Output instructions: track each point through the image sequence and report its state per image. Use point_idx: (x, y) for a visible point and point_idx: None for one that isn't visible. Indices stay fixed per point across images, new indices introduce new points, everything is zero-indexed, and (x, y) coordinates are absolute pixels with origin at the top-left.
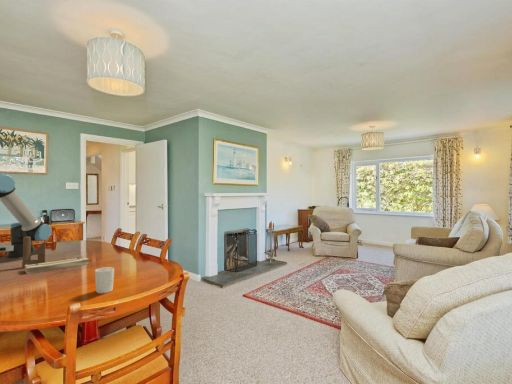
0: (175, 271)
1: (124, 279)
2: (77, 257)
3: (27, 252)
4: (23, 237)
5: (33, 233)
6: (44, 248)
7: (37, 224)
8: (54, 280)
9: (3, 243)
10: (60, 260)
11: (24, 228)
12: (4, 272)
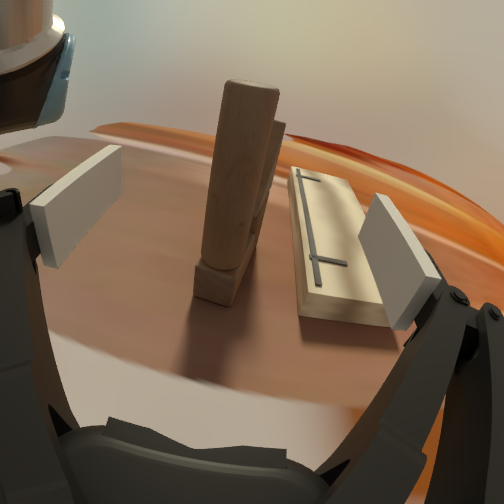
0: (457, 192)
1: (490, 233)
2: (296, 174)
3: (254, 206)
4: (257, 87)
5: (39, 82)
6: (277, 158)
7: (60, 28)
8: (488, 295)
9: (86, 174)
10: (307, 203)
11: (3, 58)
12: (273, 397)
